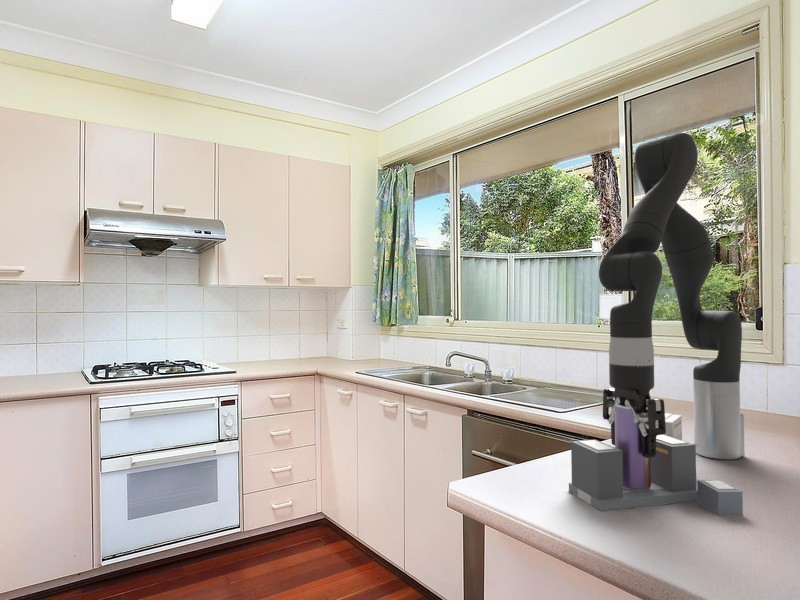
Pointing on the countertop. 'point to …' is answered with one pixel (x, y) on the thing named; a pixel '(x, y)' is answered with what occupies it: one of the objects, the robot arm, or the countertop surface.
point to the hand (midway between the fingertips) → (632, 450)
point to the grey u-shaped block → (603, 474)
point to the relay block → (720, 497)
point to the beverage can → (632, 450)
